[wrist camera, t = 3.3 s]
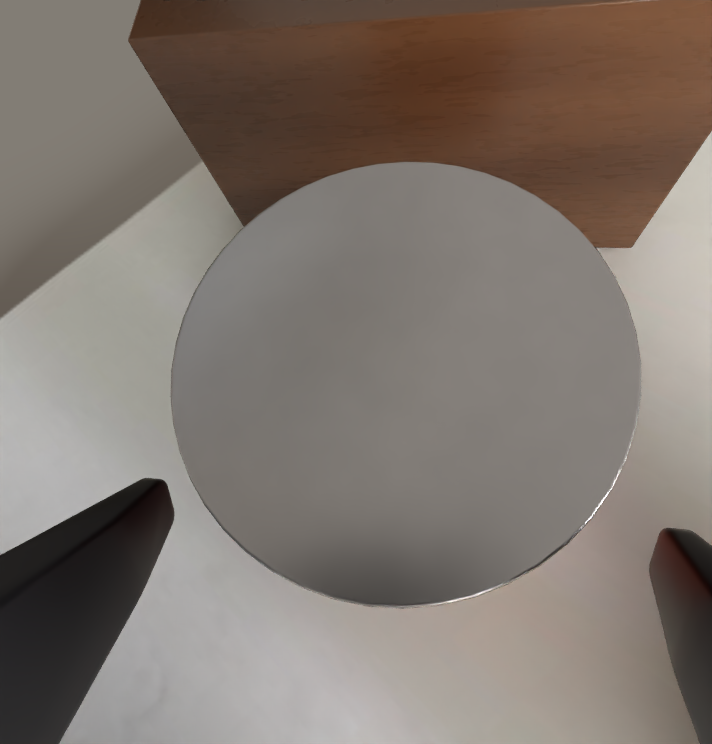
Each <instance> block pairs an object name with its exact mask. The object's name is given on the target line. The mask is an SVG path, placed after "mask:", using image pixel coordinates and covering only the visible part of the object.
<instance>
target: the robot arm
mask: <svg viewBox="0 0 712 744" xmlns="http://www.w3.org/2000/svg"><path fill="white" fill-rule="evenodd" d="M173 521H174V508H173V504H172V500H171V497H170V493H169V489H168V486H167V483H166V482H165V481H164V480H161V479H152V478H144V479H141V480H139V481H137V482H136V483H134V484H132V485H130V486H128V487H126V488H124V489H123V490H121V491H119V492H117V493H115V494H113V495H111V496H110V497H108V498H106V499H104V500H102V501H100V502H98V503H97V504H95V505H93V506H91V507H89V508H87V509H85V510H84V511H82V512H80V513H78V514H76V515H74V516H72V517H71V518H69V519H67V520H65V521H63V522H61V523H59V524H58V525H56V526H54V527H52V528H50V529H48V530H46V531H45V532H43V533H41V534H39V535H37V536H35V537H33V538H32V539H30V540H28V541H26V542H24V543H22V544H20V545H19V546H17V547H15V548H13V549H11V550H9V551H7V552H6V553H4V554H2V555H0V744H59V743H60V741H61V739H62V737H63V736H64V734H65V732H66V730H67V728H68V727H69V725H70V723H71V721H72V719H73V718H74V716H75V714H76V712H77V710H78V709H79V707H80V705H81V703H82V701H83V700H84V698H85V696H86V694H87V692H88V691H89V689H90V687H91V685H92V683H93V682H94V680H95V678H96V676H97V674H98V673H99V671H100V669H101V667H102V665H103V664H104V662H105V660H106V658H107V656H108V655H109V653H110V651H111V649H112V647H113V646H114V644H115V642H116V640H117V638H118V637H119V635H120V633H121V631H122V629H123V628H124V626H125V624H126V622H127V620H128V619H129V617H130V615H131V613H132V611H133V609H134V608H135V606H136V604H137V602H138V600H139V598H140V596H141V594H142V592H143V590H144V588H145V586H146V584H147V582H148V579H149V577H150V575H151V572H152V570H153V568H154V566H155V563H156V561H157V559H158V556H159V554H160V552H161V549H162V547H163V545H164V542H165V540H166V538H167V536H168V533H169V531H170V529H171V526H172V524H173ZM649 572H650V578H651V582H652V586H653V591H654V595H655V599H656V603H657V607H658V611H659V615H660V619H661V623H662V627H663V631H664V635H665V639H666V643H667V647H668V651H669V655H670V659H671V663H672V666H673V670H674V673H675V676H676V679H677V682H678V685H679V688H680V690H681V693H682V696H683V699H684V701H685V704H686V707H687V710H688V712H689V715H690V718H691V721H692V723H693V726H694V729H695V732H696V734H697V737H698V740H699V743H700V744H712V546H711V545H710V544H709V543H707V542H706V541H705V540H704V539H702V538H701V537H700V536H699V535H697V534H696V533H694V532H693V531H691V530H686V529H676V528H664V529H662V531H661V532H660V534H659V536H658V539H657V542H656V545H655V548H654V551H653V555H652V558H651V561H650V566H649Z"/></svg>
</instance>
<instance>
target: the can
mask: <svg viewBox="0 0 712 744" xmlns="http://www.w3.org/2000/svg"><path fill="white" fill-rule="evenodd" d="M640 400H641V360H640V354H639V347H638V341H637V334H636V330H635V326H634V323H633V320H632V317H631V313H630V310H629V307H628V304H627V301H626V299H625V297H624V295H623V293H622V291H621V289H620V287H619V284H618V282H617V280H616V278H615V276H614V274H613V273H612V271H611V270H610V268H609V267H608V265H607V264H606V262H605V261H604V259H603V258H602V256H601V255H600V253H599V252H598V250H597V249H596V248H595V247H594V246H593V245H592V244H591V242H590V241H589V240H588V239H587V238H586V237H585V235H584V234H583V233H582V232H581V231H580V230H579V229H578V228H577V227H576V226H575V225H574V224H572V223H571V222H570V221H569V220H568V219H567V218H566V217H565V216H563V215H562V214H561V213H560V212H559V211H558V210H556V209H555V208H553V207H552V206H550V205H549V204H547V203H546V202H544V201H543V200H542V199H540V198H539V197H537V196H536V195H534V194H532V193H530V192H528V191H526V190H524V189H522V188H520V187H519V186H517V185H515V184H513V183H511V182H508V181H506V180H503V179H500V178H498V177H495V176H492V175H490V174H487V173H484V172H480V171H476V170H472V169H468V168H464V167H460V166H454V165H447V164H440V163H432V162H396V163H383V164H375V165H370V166H365V167H359V168H354V169H350V170H347V171H344V172H340V173H337V174H334V175H330V176H327V177H325V178H322V179H320V180H318V181H315V182H313V183H310V184H308V185H306V186H303V187H302V188H300V189H298V190H296V191H294V192H292V193H291V194H289V195H287V196H285V197H283V198H281V199H280V200H278V201H277V202H276V203H274V204H273V205H271V206H270V207H268V208H267V209H265V210H264V211H263V212H261V213H260V214H259V215H257V216H256V217H255V218H254V219H253V220H252V221H250V222H249V223H248V224H247V225H246V226H245V227H244V228H242V229H241V230H240V231H239V232H238V233H237V234H236V235H235V236H234V238H233V239H232V240H231V241H230V242H229V243H228V244H227V245H226V246H225V247H224V248H223V249H222V251H221V252H220V253H219V255H218V256H217V257H216V259H215V260H214V262H213V263H212V264H211V266H210V267H209V268H208V270H207V271H206V273H205V275H204V276H203V278H202V280H201V282H200V283H199V285H198V287H197V289H196V290H195V292H194V294H193V296H192V299H191V301H190V303H189V306H188V308H187V310H186V313H185V315H184V317H183V321H182V324H181V327H180V331H179V334H178V338H177V341H176V346H175V352H174V358H173V364H172V374H171V405H172V415H173V425H174V429H175V433H176V437H177V442H178V446H179V450H180V454H181V456H182V459H183V461H184V464H185V466H186V469H187V472H188V474H189V477H190V479H191V481H192V483H193V485H194V487H195V489H196V490H197V492H198V494H199V496H200V498H201V499H202V501H203V503H204V505H205V506H206V508H207V509H208V510H209V512H210V513H211V514H212V516H213V517H214V518H215V520H216V521H217V522H218V524H219V525H220V526H221V528H222V529H223V530H224V531H225V532H226V533H227V534H228V535H229V536H230V537H231V538H232V539H233V540H234V541H235V542H236V543H237V544H238V545H239V546H240V547H241V548H242V549H243V550H244V551H245V552H246V553H247V554H249V555H250V556H251V557H253V558H254V559H255V560H257V561H258V562H259V563H261V564H262V565H264V566H265V567H266V568H268V569H269V570H270V571H272V572H273V573H275V574H277V575H279V576H281V577H283V578H284V579H286V580H288V581H290V582H292V583H294V584H296V585H297V586H299V587H301V588H304V589H307V590H309V591H312V592H315V593H318V594H320V595H323V596H326V597H329V598H331V599H335V600H339V601H344V602H349V603H354V604H358V605H363V606H369V607H385V608H401V609H404V608H416V607H429V606H439V605H444V604H448V603H453V602H457V601H461V600H466V599H470V598H474V597H477V596H479V595H482V594H484V593H487V592H490V591H492V590H495V589H497V588H500V587H502V586H505V585H508V584H509V583H511V582H513V581H515V580H516V579H518V578H520V577H522V576H523V575H525V574H527V573H529V572H530V571H532V570H534V569H536V568H537V567H539V566H541V565H542V564H543V563H544V562H546V561H547V560H548V559H549V558H551V557H552V556H553V555H555V554H556V553H557V552H558V551H560V550H561V549H562V548H563V547H565V546H566V545H567V544H568V543H569V542H570V541H571V540H572V539H573V538H574V537H575V536H576V535H577V534H578V533H579V532H580V531H581V529H582V528H583V527H584V526H585V525H586V524H587V523H588V522H589V521H590V520H591V519H592V518H593V516H594V515H595V513H596V512H597V510H598V509H599V507H600V506H601V505H602V503H603V502H604V500H605V499H606V497H607V496H608V494H609V493H610V491H611V490H612V488H613V486H614V484H615V482H616V480H617V478H618V476H619V474H620V472H621V470H622V468H623V465H624V463H625V461H626V459H627V456H628V453H629V450H630V446H631V443H632V440H633V437H634V433H635V430H636V427H637V420H638V413H639V406H640Z"/></svg>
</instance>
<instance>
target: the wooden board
mask: <svg viewBox="0 0 712 744" xmlns="http://www.w3.org/2000/svg"><path fill="white" fill-rule="evenodd" d="M128 41H129V43H130V45H131V46H132V48H133V50H134V51H135V53H136V54H137V56H138V57H139V59H140V61H141V62H142V64H143V65H144V67H145V69H146V70H147V72H148V74H149V75H150V77H151V78H152V80H153V82H154V83H155V85H156V87H157V88H158V90H159V91H160V93H161V95H162V96H163V98H164V99H165V101H166V103H167V104H168V106H169V107H170V109H171V111H172V112H173V114H174V115H175V117H176V118H177V120H178V122H179V123H180V125H181V127H182V128H183V130H184V131H185V133H186V134H187V136H188V138H189V140H190V141H191V142H192V144H193V146H194V148H195V149H196V151H197V152H198V154H199V156H200V157H201V159H202V160H203V162H204V164H205V165H206V167H207V168H208V170H209V172H210V173H211V175H212V176H213V178H214V180H215V181H216V183H217V184H218V186H219V188H220V189H221V191H222V192H223V194H224V196H225V197H226V199H227V200H228V202H229V204H230V205H231V207H232V209H233V210H234V212H235V213H236V215H237V217H238V218H239V220H240V221H241V223H242V225H243V226H244V227H245V226H246V225H247V224H248V223H249V222H250V221H252V220H253V219H254V218H255V217H256V216H257V215H259V214H260V213H261V212H263V211H264V210H265V209H267V208H268V207H270V206H271V205H273V204H274V203H276V202H277V201H278V200H280V199H281V198H283V197H285V196H287V195H289V194H291V193H292V192H294V191H296V190H298V189H300V188H302V187H303V186H306V185H308V184H310V183H313V182H315V181H318V180H320V179H322V178H325V177H327V176H330V175H334V174H337V173H340V172H344V171H347V170H350V169H354V168H359V167H365V166H370V165H375V164H383V163H396V162H432V163H440V164H447V165H454V166H460V167H464V168H468V169H472V170H476V171H480V172H484V173H487V174H490V175H492V176H495V177H498V178H500V179H503V180H506V181H508V182H511V183H513V184H515V185H517V186H519V187H520V188H522V189H524V190H526V191H528V192H530V193H532V194H534V195H536V196H537V197H539V198H540V199H542V200H543V201H544V202H546V203H547V204H549V205H550V206H552V207H553V208H555V209H556V210H558V211H559V212H560V213H561V214H562V215H563V216H565V217H566V218H567V219H568V220H569V221H570V222H571V223H572V224H574V225H575V226H576V227H577V228H578V229H579V230H580V231H581V232H582V233H583V234H584V235H585V237H586V238H587V239H588V240H589V241H590V242H591V244H592V245H593V246H594V247H606V248H631V247H632V246H633V245H634V243H635V242H636V240H637V239H638V237H639V236H640V234H641V233H642V231H643V230H644V229H645V227H646V226H647V224H648V223H649V221H650V220H651V218H652V217H653V215H654V214H655V213H656V211H657V210H658V208H659V207H660V205H661V204H662V202H663V201H664V199H665V198H666V197H667V195H668V194H669V192H670V191H671V189H672V188H673V186H674V185H675V183H676V182H677V181H678V179H679V178H680V176H681V175H682V173H683V172H684V170H685V169H686V167H687V166H688V165H689V163H690V162H691V160H692V159H693V157H694V156H695V154H696V153H697V151H698V150H699V149H700V147H701V146H702V144H703V143H704V141H705V140H706V138H707V137H708V135H709V134H710V133H711V131H712V0H141V1H140V4H139V7H138V10H137V13H136V16H135V19H134V23H133V25H132V29H131V32H130V35H129V38H128Z"/></svg>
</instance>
